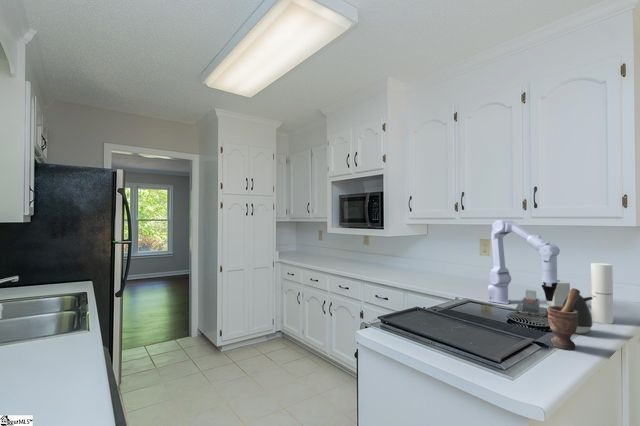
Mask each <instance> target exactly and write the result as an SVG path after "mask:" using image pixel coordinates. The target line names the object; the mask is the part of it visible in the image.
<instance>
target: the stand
mask: <svg viewBox="0 0 640 426" xmlns="http://www.w3.org/2000/svg"><path fill="white" fill-rule="evenodd" d="M536 300H537V301H531V300H526V296H524V297H523V298H522V304H520V303H519V304H517V305H516V306H515V309H514V312H515V311H522V312H528V313H534V314H539V315H544V316H546V317H547V315H548V307H542V306H541V307H540V298H536Z"/></svg>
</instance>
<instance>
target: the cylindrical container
mask: <svg viewBox="0 0 640 426" xmlns="http://www.w3.org/2000/svg"><path fill="white" fill-rule="evenodd" d="M613 278H614V276H613V264H612V263H606V262H603V263H601V262H590V292H591V294H590V297H592V298H593V299H592V300H590V305H591V309H590V313H591V317H592V322H595V323H599V324H603V325H605V324H606V325H612V324H614V307H613V306H614V289H613V288H614V287H613V285H614V284H613V283H614V282H613Z"/></svg>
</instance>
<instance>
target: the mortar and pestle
mask: <svg viewBox="0 0 640 426" xmlns="http://www.w3.org/2000/svg"><path fill="white" fill-rule="evenodd" d="M579 295H581V291H580V289H577V288H573V287H572V288H571V289H570V292H569V295H568V299H567V302H566V305H565V307H561V306H550V305H548V306H547V321H548V324H549V328H550V330H551V331H552V333H553V334H554V336H553V337H552V338H550V339H551V341H552V343H553V346H552V348H553V347H554V348H558V349H562V350H569V351H571V350H572V351H573V350H575V349H576V348H577V347H576V346H577V345H576V344H575V342H574V341H573V340H572V339H571V337H572V336H573V335H575V334H576V333H575V332H576V329H577V325H578V312H577V311H576V310H574V309H572V307H573V305H574V303H575V302H576V300H577V299H578V297H579Z"/></svg>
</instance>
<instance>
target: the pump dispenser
mask: <svg viewBox="0 0 640 426" xmlns="http://www.w3.org/2000/svg"><path fill="white" fill-rule="evenodd" d="M567 299H568V296H567V298H566V299H565V301H564V303H563V306H562V307H565V305H566V302H567ZM592 299H593V298H592V297H591V296H587V297H583V296H582V295H581V294H580V295H579V297H578V299H577V300H576V302H575V303H574V305H573V307H572V309H574V310H576V311H577V312H578V325H577V329H576V332H575V333H574V334H577V333H578V335H582V334H583V335H584V334H587V333H589V332H590V330H591V329H592V326H593V321H592V312H591V309H590V307H589V305H588V304H587V302H589V301H591V300H592Z"/></svg>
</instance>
